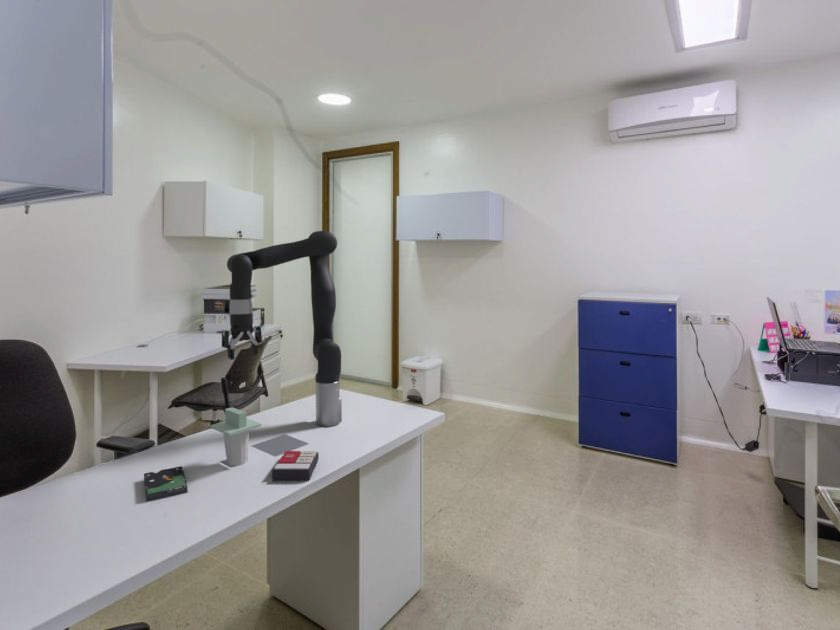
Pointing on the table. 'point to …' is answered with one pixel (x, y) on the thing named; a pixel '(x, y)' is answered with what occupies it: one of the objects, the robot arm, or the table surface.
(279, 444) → the mat
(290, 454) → the red white black box
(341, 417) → the robot arm
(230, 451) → the cup
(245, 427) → the cover
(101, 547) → the table surface
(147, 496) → the disk drive
